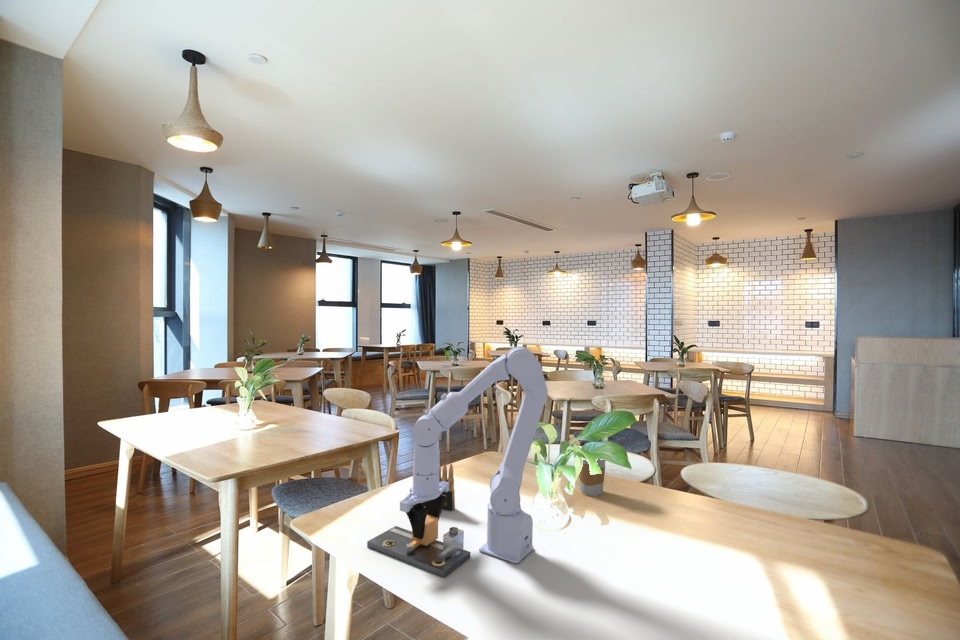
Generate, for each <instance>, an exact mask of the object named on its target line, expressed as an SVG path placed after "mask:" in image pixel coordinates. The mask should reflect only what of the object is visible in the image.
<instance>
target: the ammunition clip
mask: <svg viewBox="0 0 960 640" xmlns="http://www.w3.org/2000/svg"><path fill="white" fill-rule="evenodd" d="M447 468H448V467H447V464H446V462H445V463H443V466H442V468H441V462H439V482H441V481H445V482H448V483H449V491H448V492H442V495H443V496H446V497H447V502H446V503H445V505H444V507H443V509H442V511H449V512H452V511H453V512H454V510H455V508H456V502H455V501H456V500H455V499H456V498H455V479H454V467H453V464H452V463H450V465H449V468H448V469H447ZM422 505H423V507H424V508H425V505H424V502H423V503H422Z"/></svg>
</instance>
